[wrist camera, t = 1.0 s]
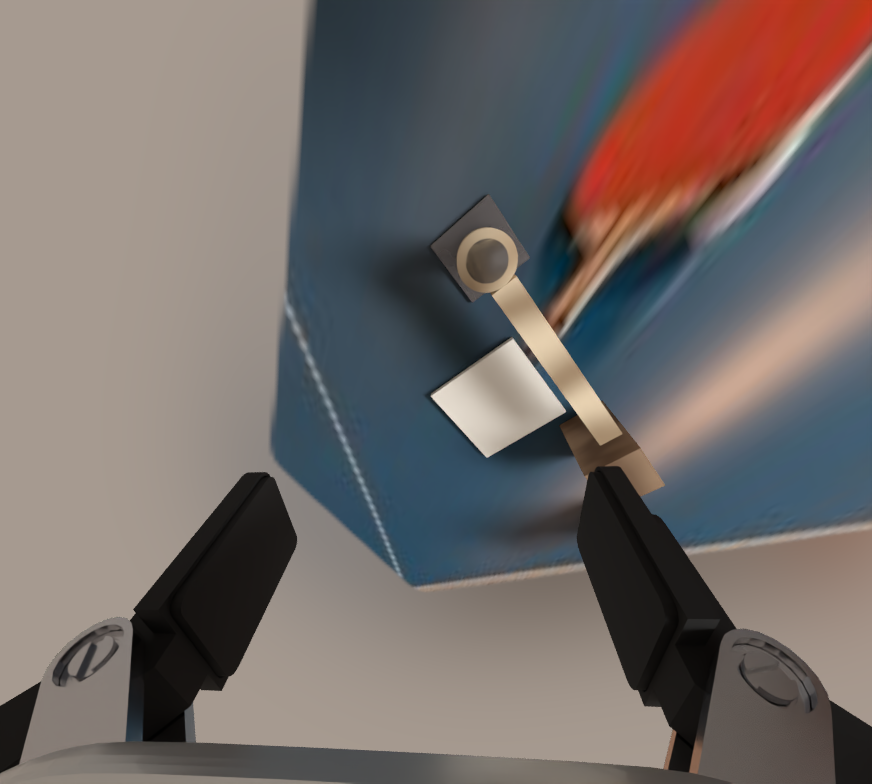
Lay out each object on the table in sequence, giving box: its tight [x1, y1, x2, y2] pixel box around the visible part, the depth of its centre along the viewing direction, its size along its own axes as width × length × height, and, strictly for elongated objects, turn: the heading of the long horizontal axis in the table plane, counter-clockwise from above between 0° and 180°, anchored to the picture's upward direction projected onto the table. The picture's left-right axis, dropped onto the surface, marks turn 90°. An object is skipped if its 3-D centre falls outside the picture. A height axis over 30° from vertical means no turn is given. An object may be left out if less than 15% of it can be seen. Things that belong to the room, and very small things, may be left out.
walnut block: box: [559, 401, 665, 496], centre depth 33 cm, size 5×5×8 cm
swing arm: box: [457, 227, 622, 446], centre depth 28 cm, size 20×4×6 cm, turn 39°
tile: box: [431, 337, 566, 458], centre depth 35 cm, size 10×10×1 cm
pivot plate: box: [430, 194, 530, 303], centre depth 28 cm, size 6×6×1 cm
